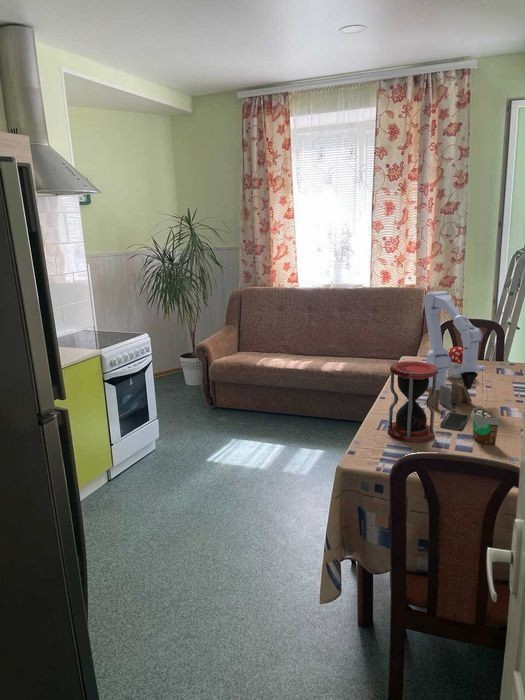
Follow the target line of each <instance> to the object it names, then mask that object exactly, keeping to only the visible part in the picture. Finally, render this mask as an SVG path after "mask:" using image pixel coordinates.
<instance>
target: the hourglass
mask: <svg viewBox="0 0 525 700" xmlns="http://www.w3.org/2000/svg"><path fill="white" fill-rule="evenodd" d="M389 371H390V385H389V387H390V389H389V390H390V392H391V393H392V395H393V398H394V399H393V402H392V403H391V404H390V406H389V408H388V409H389V415H388V416H389V417H388V425H387V433H388V434H389V435H390V437H392V438H394V439H397V440H399V441H403V442H408V443H409V442H410V443H411V442H412V443H413V442H414V443H420V442H421V443H422V442H426V441H429V440H431V439H432V438H434V436H435V435H434V434H435V431H434V430H435V429H434V422H435V412H434V411H435V410H434V408H433V407H431V405H430V401H431V398H432V397H433V396H434V395H435V393H436V377H437V374H438V368H437V367H436V366H434V365H432V364H429V363H426V362H423V361H418V360H417V361H416V360H414V361H412V360H407V361H406V360H405V361H397V362H394V363H392V364H391V365H390V368H389ZM395 375H396V376H397V387H398V389H399V391H400V392H401V394H402V395H404V397H405V398H407V400H408V401H406V402H405V403H404V404H403V405H401V407H400V408H399V409H398V410H397V412H396V415H395V421H393V415H394V414H393V413H394V408H395V406H396V405H397V404H398V401H399V396H398V393H397V392H396V391H395V388H394V387H395V386H394V384H395ZM429 377H433V385H432V393H431V395H430V396H429V395H428V396H429V397H427V398H426V401H425V404H426V407H427V409H429V412H430V420H429V425H428V424H427V422H428V421H427V414H426V412H425V410H424V409H423V407H422V406H421V405H420V404H419V403H417V399H419V398H420V397H422V396H423V395H424V394H425V393H426V392H427V391H428V389H427V388H428V385H429Z"/></svg>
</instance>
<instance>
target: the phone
mask: <svg viewBox="0 0 525 700" xmlns="http://www.w3.org/2000/svg"><path fill="white" fill-rule="evenodd" d="M468 420H469V415H466V414H460V413H456V412H448V413H447V414H446V415H445V417H444V418H443V420H442V421H441V423H440V424H439V425H440V426H439V427H440V428H442V429H448V430H452V429H453V430H454V431H459V432H461V431H463V429H464V427H465V426H466V424H467V421H468Z"/></svg>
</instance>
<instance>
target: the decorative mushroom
mask: <svg viewBox="0 0 525 700" xmlns="http://www.w3.org/2000/svg"><path fill="white" fill-rule="evenodd" d="M447 351H448V352H449V356H450V358H451V366H450V367H449V368H448V370H447V374H446V375H447V376H448V377H449V378H451V379H459V380H460V379H462V376H461V375H460V374H457V375H455V374H453V369H456V368H459V367H462V360H463V346H462V347H461V346H453V347H451V348H449V349H447Z"/></svg>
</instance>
